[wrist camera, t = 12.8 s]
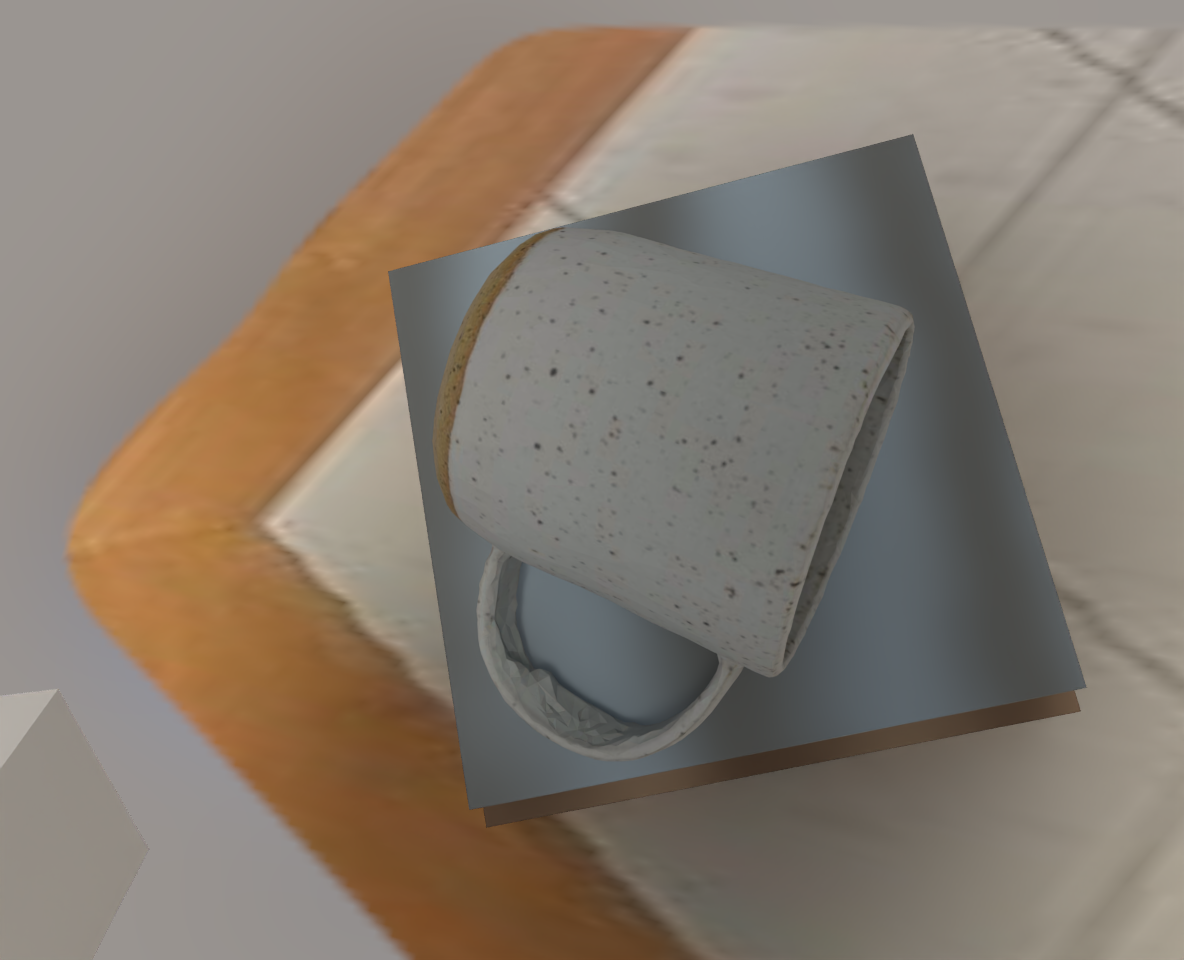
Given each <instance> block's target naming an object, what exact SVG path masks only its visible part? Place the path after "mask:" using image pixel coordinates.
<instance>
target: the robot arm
mask: <svg viewBox="0 0 1184 960" xmlns="http://www.w3.org/2000/svg"><path fill="white" fill-rule="evenodd" d="M148 851H149V848H148V846H147V844H146V842H145V841H144V839H143V837H142V835H141V834H140V832H139V830H138V828H137V826H136V825H135V823H134V821H133V820H132V818H131V816H130V814H129V812H128V811H127V809H126V807H125V806H124V804H123V802H122V800H121V798H120V797H119V795H118V793H117V791H116V790H115V788H114V786H113V784H112V782H111V781H110V779H109V777H108V775H107V774H106V772H105V770H104V768H103V767H102V765H101V763H100V762H99V760H98V758H97V756H96V755H95V753H94V751H93V749H92V747H91V746H90V744H89V742H88V740H87V739H86V737H85V735H84V733H83V732H82V730H81V728H80V726H79V724H78V723H77V721H76V719H75V718H74V716H73V714H72V712H71V710H70V709H69V707H68V705H67V703H66V702H65V700H64V698H63V697H62V694H61V693H60V691H59V689H53V690H45V691H37V692H28V693H19V694H11V695H2V696H0V960H92V959H93V957H94V956H95V953H96V952H97V950H98V948H99V946H100V944H101V942H102V940H103V938H104V936H105V934H106V932H107V930H108V928H109V926H110V924H111V922H112V921H113V919H114V917H115V915H116V913H117V911H118V909H119V907H120V905H121V903H122V901H123V899H124V897H125V895H126V894H127V891H128V890H129V888H130V886H131V884H132V882H133V880H134V878H135V876H136V874H137V872H138V870H139V868H140V866H141V864H142V863H143V860H144V859H145V856H146V855H147V853H148Z"/></svg>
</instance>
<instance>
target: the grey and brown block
mask: <svg viewBox="0 0 1184 960" xmlns="http://www.w3.org/2000/svg"><path fill="white" fill-rule="evenodd" d="M561 227H567V228H583V229H597V230H610V231H616V232H622V233H626V234H630V235H633V236H637V237H641V238H645V239H648V240H652V241H655V242H659V243H663V244H666V245H669V246H672V247H675V248H678V249H682V250H687V251H691V252H695V253H699V254H703V255H707V256H710V257H714V258H717V259H721V260H725V261H730V262H735V263H739V264H742V265H746V266H749V267H753V268H757V269H761V270H764V271H768V272H772V273H776V274H780V275H784V276H787V277H791V278H794V279H798V280H802V281H806V282H809V283H813V284H816V285H819V286H822V287H826V288H830V289H835V290H839V291H844V292H847V293H851V294H855V295H858V296H862V297H866V298H871V299H875V300H879V301H883V302H887V303H890V304H894V305H897V306H900V307H903V308H905V309H906V310H908V311H909V312H910V313H911V314H912V315H913V321H914V326H915V328H914V334H913V343H912V346H911V349H910V356H909V358H908V362H907V368H906V373H905V376H904V378H903V381H902V384H901V388H900V393H899V398H898V402H897V404H896V407H895V410H894V412H893V415H892V417H891V420H890V423H889V426H888V429H887V433H886V436H885V439H884V441H883V444H882V446H881V449H880V452H879V454H878V457H877V460H876V463H875V466H874V469H873V472H872V475H871V478H870V480H869V482H868V484H867V487H866V490H865V493H864V497H863V500H862V502H861V504H860V506H859V508H858V511H857V513H856V516H855V518H854V521H853V524H852V526H851V529H850V532H849V534H848V537H847V539H846V542H845V545H844V547H843V550H842V552H841V555H840V556H839V558H838V560H837V562H836V564H835V566H834V568H833V571H832V573H831V575H830V578H829V580H828V583H827V586H826V589H825V592H824V595H823V597H822V599H821V601H820V603H819V605H818V607H817V609H816V612H815V614H814V616H813V618H812V620H811V622H810V624H809V626H808V628H807V631H806V633H805V636H804V637H803V639H802V641H801V642H800V644H799V646H798V648H797V650H796V652H795V654H794V656H793V657H792V659H791V660H790V662H789V663H788V665H787V667H786V668H785V669H784V670H783V671H782V672H781V673H780V674H779V675H777V676H775V677H766V676H764V675H761V674H759V673H756V672H754V671H752V670H750V669H748V668H746V667H744V668H743V670H742V672H741V673H740V675H739V676H738V677H737V679H736V680H735V681H734V683H733V684H732V686H731V687H730V688H729V690H728V691H727V692H726V694H725V695H724V696H723V698H722V699H721V700H720V702H719V703H718V705H717V706H716V707H715V709H714V710H713V711H712V712H711V714H710V715H709V716H708V717H707V718H706V719H705V720H704V721H703V722H702V723H701V724H700V725H699V726H698V727H697V728H696V729H695V730H693V731H692V732H691V733H690V734H688V735H687V736H686V737H685V738H683V739H682V740H681V741H678V742H677V743H676V744H674V745H672V746H670V747H668V748H666V749H663V750H661V751H659V752H657V753H654V754H652V755H649V756H647V757H644V758H640V759H637V760H630V761H601V760H595V759H592V758H589V757H586V756H583V755H580V754H578V753H575V752H573V751H570V750H568V749H566V748H564V747H562V746H560V745H559V744H557V743H555V742H553V741H551V740H550V739H548V738H546V737H544V736H543V735H541V734H540V733H538V732H537V731H536V730H534V729H533V728H532V727H531V726H530V725H529V724H528V723H526V722H525V721H524V720H523V719H522V718H521V717H520V716H519V715H518V714H517V713H516V712H515V711H514V710H513V709H512V708H511V707H510V706H509V705H508V704H507V703H506V702H505V700H504V699H503V697H502V695H501V694H500V692H499V690H498V689H497V687H496V685H495V684H494V682H493V680H492V679H491V676H490V674H489V672H488V669H487V667H486V665H485V662H484V660H483V657H482V655H481V651H480V646H479V641H478V626H477V612H476V609H477V602H478V597H479V583H480V580H481V578H482V575H483V573H484V567H485V562H486V560H487V558H488V556H489V554H490V552H491V550H492V544H491V543H489V542H488V541H487V540H485V539H484V538H482V537H481V536H480V535H478V534H477V533H476V532H474V531H473V530H472V529H470V528H469V527H468V526H466V525H465V524H464V523H463V522H462V521H461V520H460V519H459V518H457V517H456V516H455V515H454V514H453V513H452V512H451V510H450V509H449V507H448V506H447V504H446V501H445V498H444V496H443V493H442V490H441V488H440V485H439V482H438V480H437V476H436V469H435V462H434V453H433V443H432V439H433V427H434V416H435V410H436V403H437V397H438V393H439V390H440V386H441V382H442V378H443V375H444V371H445V367H446V364H447V360H448V357H449V353H450V350H451V347H452V345H453V343H454V340H455V338H456V335H457V333H458V331H459V328H460V326H461V324H462V321H463V319H464V316H465V315H466V313H467V311H468V309H469V307H470V305H471V303H472V301H473V300H474V298H475V297H476V295H477V294H478V292H479V290H480V289H481V287H482V286H483V284H484V282H485V281H486V279H487V278H488V276H489V275H490V273H491V272H492V271H493V270H494V269H495V268H496V267H497V266H498V265H499V264H500V263H501V262H502V261H503V260H504V259H505V258H506V257H507V256H508V255H509V254H510V253H511V252H512V251H513V250H514V249H515V248H516V247H517V246H519V245H520V244H521V243H523V242H525V241H526V240H528V239H529V238H531V237H532V236H534V235H535V234H538V233H541V232H544V231H541V232H537V233H534V234H530V235H526V236H522V237H518V238H515V239H511V240H507V241H503V242H499V243H495V244H492V245H488V246H484V247H480V248H476V249H472V250H469V251H465V252H461V253H457V254H453V255H450V256H446V257H442V258H438V259H434V260H430V261H427V262H423V263H419V264H415V265H411V266H407V267H404V268H400V269H396V270H392V271H388V273H389V280H390V286H391V293H392V300H393V306H394V313H395V319H396V326H397V333H398V339H399V346H400V353H401V359H402V366H403V373H404V379H405V386H406V392H407V399H408V406H409V412H410V419H411V426H412V432H413V439H414V446H415V452H416V459H417V466H418V472H419V479H420V485H421V492H422V499H423V505H424V512H425V519H426V525H427V532H428V539H429V545H430V552H431V558H432V565H433V572H434V578H435V585H436V592H437V598H438V605H439V612H440V618H441V625H442V631H443V638H444V645H445V651H446V658H447V665H448V671H449V678H450V685H451V691H452V698H453V704H454V711H455V718H456V724H457V731H458V738H459V744H460V751H461V758H462V764H463V771H464V777H465V784H466V791H467V797H468V804H469V810H470V809H476V808H482V807H483V808H484V815H485V821H486V828H487V827H492V826H497V825H502V824H507V823H512V822H517V821H522V820H527V819H533V818H538V817H543V816H548V815H553V814H558V813H563V812H568V811H574V810H579V809H584V808H589V807H594V806H599V805H604V804H609V803H614V802H620V801H625V800H630V799H635V798H640V797H645V796H650V795H655V794H660V793H666V792H671V791H676V790H681V789H686V788H691V787H696V786H701V785H706V784H712V783H717V782H722V781H727V780H732V779H737V778H742V777H747V776H752V775H758V774H763V773H768V772H773V771H778V770H783V769H788V768H793V767H799V766H804V765H809V764H814V763H819V762H824V761H829V760H834V759H839V758H845V757H850V756H855V755H860V754H865V753H870V752H875V751H880V750H885V749H891V748H896V747H901V746H906V745H911V744H916V743H921V742H926V741H931V740H937V739H942V738H947V737H952V736H957V735H962V734H967V733H972V732H977V731H983V730H988V729H993V728H998V727H1003V726H1008V725H1013V724H1018V723H1024V722H1029V721H1034V720H1039V719H1044V718H1049V717H1054V716H1059V715H1064V714H1070V713H1075V712H1080V711H1081V710H1080V707H1079V704H1078V701H1077V697H1076V694H1075V691H1074V690H1077V689H1082V688H1087V687H1086V684H1085V681H1084V678H1083V675H1082V671H1081V668H1080V665H1079V662H1078V659H1077V656H1076V652H1075V649H1074V646H1073V643H1072V640H1071V636H1070V633H1069V630H1068V627H1067V624H1066V620H1065V617H1064V614H1063V611H1062V608H1061V604H1060V601H1059V598H1058V595H1057V592H1056V589H1055V585H1054V582H1053V579H1052V576H1051V573H1050V569H1049V566H1048V563H1047V560H1046V557H1045V553H1044V550H1043V547H1042V544H1041V541H1040V537H1039V534H1038V531H1037V528H1036V525H1035V522H1034V518H1033V515H1032V512H1031V509H1030V506H1029V502H1028V499H1027V496H1026V493H1025V490H1024V486H1023V483H1022V480H1021V477H1020V474H1019V470H1018V467H1017V464H1016V461H1015V458H1014V454H1013V451H1012V448H1011V445H1010V442H1009V439H1008V435H1007V432H1006V429H1005V426H1004V423H1003V419H1002V416H1001V413H1000V410H999V407H998V403H997V400H996V397H995V394H994V391H993V387H992V384H991V381H990V378H989V375H988V372H987V368H986V365H985V362H984V359H983V356H982V352H981V349H980V346H979V343H978V340H977V336H976V333H975V330H974V327H973V324H972V320H971V317H970V314H969V311H968V308H967V305H966V301H965V298H964V295H963V292H962V289H961V285H960V282H959V279H958V276H957V273H956V269H955V266H954V263H953V260H952V257H951V253H950V250H949V247H948V244H947V241H946V238H945V234H944V231H943V228H942V225H941V222H940V218H939V215H938V212H937V209H936V206H935V202H934V199H933V196H932V193H931V190H930V186H929V183H928V180H927V177H926V174H925V170H924V167H923V164H922V161H921V158H920V155H919V151H918V148H917V145H916V142H915V139H914V135H913V134H912V135H908V136H905V137H901V138H897V139H893V140H889V141H885V142H882V143H878V144H874V145H870V146H866V147H863V148H859V149H855V150H851V151H847V152H843V153H840V154H836V155H832V156H828V157H824V158H820V159H817V160H813V161H809V162H805V163H801V164H798V165H794V166H790V167H786V168H782V169H778V170H775V171H771V172H767V173H763V174H759V175H755V176H752V177H748V178H744V179H740V180H736V181H733V182H729V183H725V184H721V185H717V186H713V187H710V188H706V189H702V190H698V191H694V192H690V193H687V194H683V195H679V196H675V197H671V198H668V199H664V200H660V201H656V202H652V203H648V204H645V205H641V206H637V207H633V208H629V209H625V210H622V211H618V212H614V213H610V214H606V215H603V216H599V217H595V218H591V219H587V220H583V221H580V222H576V223H572V224H568V225H564V226H560V227H557V228H561ZM553 229H554V228H553ZM549 230H550V229H549ZM545 231H547V230H545ZM516 599H517V604H518V605H517V609H516V619H517V627H518V631H519V634H520V638H521V641H522V644H523V647H524V650H525V653H526V655H527V656H528V658H529V660H530V661H531V663H532V665H533V666H534V668H535V669H543V670H546V671H549V672H551V673H552V674H553V676H554V677H555V678H556V680H557V681H558V683H559V684H560V685H562V686H563V687H564V688H566V689H567V690H568V691H570V692H571V693H572V694H574V695H575V696H577V697H579V698H581V699H583V700H585V701H586V702H588V703H590V704H592V705H593V706H595V707H597V708H599V709H600V710H602V711H604V712H605V713H607V714H609V715H610V716H612V717H614V718H616V719H618V720H621V721H623V722H635V723H637V724H639V725H652V724H656V723H660V722H662V721H666V720H668V719H669V718H671V717H673V716H674V715H676V714H678V713H680V712H682V711H683V710H684V709H686V708H687V707H688V706H689V705H690V704H691V703H692V702H694V701H695V700H696V699H697V698H698V697H699V696H700V694H701V693H702V692H703V691H704V690H705V688H706V687H707V686H708V684H709V683H710V681H711V680H712V678H713V676H714V675H715V673H716V672H717V668H718V665H719V660H718V656H717V654H716V653H714V652H712V651H710V650H708V649H706V648H704V647H702V646H700V645H699V644H697V643H695V642H693V641H691V640H689V639H687V638H685V637H682V636H680V635H678V634H676V633H673V632H671V631H669V630H667V629H664V628H662V627H660V626H658V625H656V624H653V623H651V622H649V621H647V620H645V619H644V618H642V617H640V616H638V615H636V614H634V613H632V612H630V611H629V610H627V609H625V608H623V607H621V606H619V605H617V604H615V603H613V602H612V601H610V600H608V599H605V598H603V597H601V596H599V595H597V594H594V593H592V592H590V591H588V590H586V589H584V588H582V587H580V586H577V585H575V584H573V583H570V582H568V581H565V580H562V579H560V578H558V577H555V576H553V575H551V574H549V573H546V572H544V571H542V570H539V569H537V568H535V567H533V566H530V565H528V564H526V563H524V562H522V564H521V567H520V574H519V581H518V587H517V592H516Z"/></svg>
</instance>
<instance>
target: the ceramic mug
mask: <svg viewBox="0 0 1184 960" xmlns="http://www.w3.org/2000/svg"><path fill="white" fill-rule="evenodd" d="M914 328H915V326H914V321H913V315H912V314H911V313H910V312H909V311H908V310H906V309H905V308H903V307H900V306H897V305H894V304H890V303H887V302H883V301H879V300H875V299H871V298H866V297H862V296H858V295H855V294H851V293H847V292H844V291H839V290H835V289H830V288H826V287H822V286H819V285H816V284H813V283H809V282H806V281H802V280H798V279H794V278H791V277H787V276H784V275H780V274H776V273H772V272H768V271H764V270H761V269H757V268H753V267H749V266H746V265H742V264H739V263H735V262H730V261H725V260H721V259H717V258H714V257H710V256H707V255H703V254H699V253H695V252H691V251H687V250H682V249H678V248H675V247H672V246H669V245H666V244H663V243H659V242H655V241H652V240H648V239H645V238H641V237H637V236H633V235H630V234H626V233H622V232H616V231H610V230H597V229H583V228H567V227H561V228H554V229H550V230H547V231H544V232H541V233H538V234H535V235H534V236H532V237H531V238H529V239H528V240H526V241H525V242H523V243H521V244H520V245H519V246H517V247H516V248H515V249H514V250H513V251H512V252H511V253H510V254H509V255H508V256H507V257H506V258H505V259H504V260H503V261H502V262H501V263H500V264H499V265H498V266H497V267H496V268H495V269H494V270H493V271H492V272H491V273H490V275H489V276H488V278H487V279H486V281H485V282H484V284H483V286H482V287H481V289H480V290H479V292H478V294H477V295H476V297H475V298H474V300H473V301H472V303H471V305H470V307H469V309H468V311H467V313H466V315H465V316H464V319H463V321H462V324H461V326H460V328H459V331H458V333H457V335H456V338H455V340H454V343H453V345H452V347H451V350H450V353H449V357H448V360H447V364H446V367H445V371H444V375H443V378H442V382H441V386H440V390H439V393H438V397H437V403H436V410H435V416H434V427H433V439H432V443H433V453H434V462H435V469H436V476H437V480H438V482H439V485H440V488H441V490H442V493H443V496H444V498H445V501H446V504H447V506H448V507H449V509H450V510H451V512H452V513H453V514H454V515H455V516H456V517H457V518H459V519H460V520H461V521H462V522H463V523H464V524H465V525H466V526H468V527H469V528H470V529H472V530H473V531H474V532H476V533H477V534H478V535H480V536H481V537H482V538H484V539H485V540H487V541H488V542H489V543H491V544H492V550H491V552H490V554H489V556H488V558H487V560H486V562H485V567H484V573H483V575H482V578H481V580H480V583H479V597H478V602H477V609H476V612H477V626H478V641H479V646H480V651H481V655H482V657H483V660H484V662H485V665H486V667H487V669H488V672H489V674H490V676H491V679H492V680H493V682H494V684H495V685H496V687H497V689H498V690H499V692H500V694H501V695H502V697H503V699H504V700H505V702H506V703H507V704H508V705H509V706H510V707H511V708H512V709H513V710H514V711H515V712H516V713H517V714H518V715H519V716H520V717H521V718H522V719H523V720H524V721H525V722H526V723H528V724H529V725H530V726H531V727H532V728H533V729H534V730H536V731H537V732H538V733H540V734H541V735H543V736H544V737H546V738H548V739H550V740H551V741H553V742H555V743H557V744H559V745H560V746H562V747H564V748H566V749H568V750H570V751H573V752H575V753H578V754H580V755H583V756H586V757H589V758H592V759H595V760H601V761H630V760H637V759H640V758H644V757H647V756H649V755H652V754H654V753H657V752H659V751H661V750H663V749H666V748H668V747H670V746H672V745H674V744H676V743H677V742H678V741H681V740H682V739H683V738H685V737H686V736H687V735H688V734H690V733H691V732H692V731H693V730H695V729H696V728H697V727H698V726H699V725H700V724H701V723H702V722H703V721H704V720H705V719H706V718H707V717H708V716H709V715H710V714H711V712H712V711H713V710H714V709H715V707H716V706H717V705H718V703H719V702H720V700H721V699H722V698H723V696H724V695H725V694H726V692H727V691H728V690H729V688H730V687H731V686H732V684H733V683H734V681H735V680H736V679H737V677H738V676H739V675H740V673H741V672H742V670H743V668H744V667H746V668H748V669H750V670H752V671H754V672H756V673H759V674H761V675H764V676H766V677H775V676H777V675H779V674H780V673H781V672H782V671H783V670H784V669H785V668H786V667H787V665H788V663H789V662H790V660H791V659H792V657H793V656H794V654H795V652H796V650H797V648H798V646H799V644H800V642H801V641H802V639H803V637H804V636H805V633H806V631H807V628H808V626H809V624H810V622H811V620H812V618H813V616H814V614H815V612H816V609H817V607H818V605H819V603H820V601H821V599H822V597H823V595H824V592H825V589H826V586H827V583H828V580H829V578H830V575H831V573H832V571H833V568H834V566H835V564H836V562H837V560H838V558H839V556H840V555H841V552H842V550H843V547H844V545H845V542H846V539H847V537H848V534H849V532H850V529H851V526H852V524H853V521H854V518H855V516H856V513H857V511H858V508H859V506H860V504H861V502H862V500H863V497H864V493H865V490H866V487H867V484H868V482H869V480H870V478H871V475H872V472H873V469H874V466H875V463H876V460H877V457H878V454H879V452H880V449H881V446H882V444H883V441H884V439H885V436H886V433H887V429H888V426H889V423H890V420H891V417H892V415H893V412H894V410H895V407H896V404H897V402H898V398H899V393H900V388H901V384H902V381H903V378H904V376H905V373H906V368H907V362H908V358H909V356H910V349H911V346H912V343H913V334H914ZM522 562H524V563H526V564H528V565H530V566H533V567H535V568H537V569H539V570H542V571H544V572H546V573H549V574H551V575H553V576H555V577H558V578H560V579H562V580H565V581H568V582H570V583H573V584H575V585H577V586H580V587H582V588H584V589H586V590H588V591H590V592H592V593H594V594H597V595H599V596H601V597H603V598H605V599H608V600H610V601H612V602H613V603H615V604H617V605H619V606H621V607H623V608H625V609H627V610H629V611H630V612H632V613H634V614H636V615H638V616H640V617H642V618H644V619H645V620H647V621H649V622H651V623H653V624H656V625H658V626H660V627H662V628H664V629H667V630H669V631H671V632H673V633H676V634H678V635H680V636H682V637H685V638H687V639H689V640H691V641H693V642H695V643H697V644H699V645H700V646H702V647H704V648H706V649H708V650H710V651H712V652H714V653H716V654H717V656H718V660H719V665H718V668H717V672H716V673H715V675H714V676H713V678H712V680H711V681H710V683H709V684H708V686H707V687H706V688H705V690H704V691H703V692H702V693H701V694H700V696H699V697H698V698H697V699H696V700H695V701H694V702H692V703H691V704H690V705H689V706H688V707H687V708H686V709H684V710H683V711H682V712H680V713H678V714H676V715H674V716H673V717H671V718H669V719H668V720H666V721H662V722H660V723H656V724H652V725H639V724H637V723H635V722H623V721H621V720H618V719H616V718H614V717H612V716H610V715H609V714H607V713H605V712H604V711H602V710H600V709H599V708H597V707H595V706H593V705H592V704H590V703H588V702H586V701H585V700H583V699H581V698H579V697H577V696H575V695H574V694H572V693H571V692H570V691H568V690H567V689H566V688H564V687H563V686H562V685H560V684H559V683H558V681H557V680H556V678H555V677H554V676H553V674H552V673H551V672H549V671H546V670H543V669H535V668H534V666H533V665H532V663H531V661H530V660H529V658H528V656H527V655H526V653H525V650H524V647H523V644H522V641H521V638H520V634H519V631H518V627H517V619H516V609H517V605H518V604H517V599H516V592H517V587H518V581H519V574H520V567H521V564H522Z"/></svg>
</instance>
